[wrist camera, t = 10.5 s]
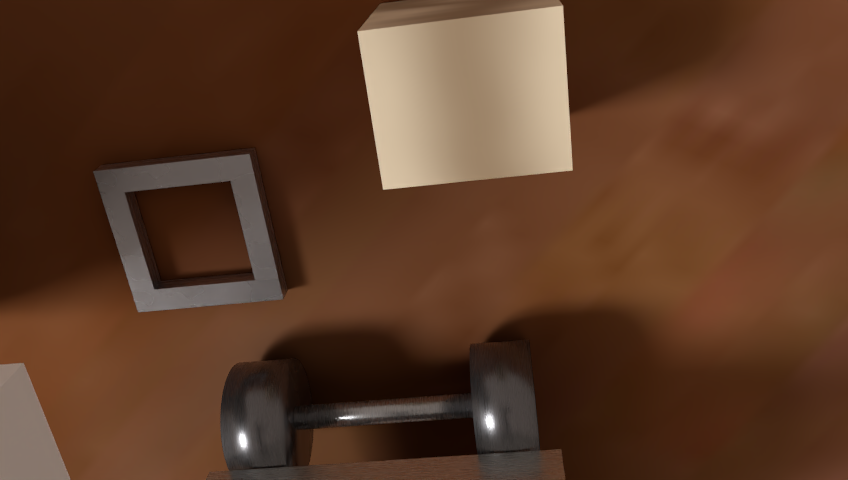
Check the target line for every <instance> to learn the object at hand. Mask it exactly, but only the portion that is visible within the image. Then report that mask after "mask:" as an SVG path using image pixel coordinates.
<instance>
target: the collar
mask: <svg viewBox="0 0 848 480" xmlns="http://www.w3.org/2000/svg"><path fill="white" fill-rule="evenodd" d="M93 173H94V176H95V179H96V182H97V185H98V188H99V191H100V194H101V198H102V201H103V204H104V207H105V210H106V213H107V216H108V219H109V223H110V226H111V229H112V232H113V235H114V238H115V241H116V244H117V248H118V251H119V254H120V257H121V260H122V263H123V266H124V269H125V272H126V276H127V279H128V282H129V285H130V288H131V291H132V294H133V297H134V301H135V304H136V307H137V310H138V312H147V311H158V310H169V309H180V308H191V307H202V306H213V305H225V304H236V303H247V302H258V301H269V300H280V299H284V297H285V295H286V292H287V286H286V282H285V277H284V273H283V268H282V264H281V260H280V255H279V251H278V247H277V242H276V238H275V234H274V229H273V225H272V221H271V216H270V212H269V208H268V203H267V199H266V195H265V190H264V186H263V181H262V177H261V173H260V168H259V164H258V160H257V155H256V151H255V148H246V149H238V150H229V151H220V152H211V153H202V154H193V155H184V156H175V157H166V158H158V159H149V160H140V161H131V162H122V163H113V164H104V165H101V166H100V167H98V168H97V169H96V170H94V171H93ZM224 181H231V185H232V189H233V193H234V197H235V201H236V205H237V209H238V214H239V218H240V222H241V226H242V230H243V234H244V238H245V242H246V246H247V250H248V254H249V258H250V262H251V266H252V270H253V272H250V273H239V274H229V275H218V276H207V277H197V278H186V279H176V280H165V281H161V279H160V276H159V272H158V269H157V266H156V262H155V259H154V256H153V252H152V249H151V246H150V242H149V239H148V236H147V232H146V229H145V226H144V222H143V219H142V216H141V212H140V209H139V206H138V202H137V199H136V196H135V193H134V191H141V190H150V189H160V188H169V187H178V186H187V185H197V184H206V183H215V182H224Z"/></svg>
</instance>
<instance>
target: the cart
mask: <svg viewBox="0 0 848 480" xmlns="http://www.w3.org/2000/svg"><path fill="white" fill-rule="evenodd" d="M470 382H471V393H464V394H450V395H437V396H423V397H410V398H396V399H383V400H369V401H356V402H342V403H328V404H315V405H312V398H311V391H310V386H309V382H308V378H307V375H306V372H305V369H304V367H303V365H302V364H301V362H300V361H299V360H298V359H296V358H292V359H280V360H268V361H255V362H243V363H237V364H236V365H234V366H233V368H232V369H231V370H230V372H229V374H228V377H227V379H226V382H225V386H224V390H223V395H222V403H221V421H220V422H221V439H222V447H223V452H224V456H225V460H226V463H227V466H228V469H229V471H217V472H209V474H208V476H207V478H206V480H566V479H565V472H564V465H563V459H562V452H561V449H555V450H540V445H539V434H538V423H537V413H536V403H535V392H534V382H533V373H532V363H531V353H530V344H529V339H527V340H515V341H502V342H490V343H477V344H471V345H470ZM461 418H473V421H474V430H475V439H476V447H477V453H478V455H463V456H448V457H433V458H417V459H402V460H386V461H371V462H356V463H340V464H325V465H310V466H308V465H309V462H310V457H311V451H312V443H313V429H319V428H333V427H347V426H361V425H376V424H390V423H404V422H418V421H432V420H447V419H461Z"/></svg>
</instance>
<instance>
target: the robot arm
mask: <svg viewBox="0 0 848 480" xmlns="http://www.w3.org/2000/svg"><path fill="white" fill-rule="evenodd" d="M0 480H70V477H69V475H68V472H67V470H66V467H65V465H64V462H63V460H62V457H61V455H60V452H59V450H58V448H57V445H56V443H55V440H54V438H53V435H52V433H51V430H50V428H49V425H48V423H47V420H46V418H45V415H44V413H43V410H42V408H41V405H40V403H39V400H38V398H37V395H36V393H35V390H34V388H33V385H32V383H31V380H30V378H29V375H28V373H27V370H26V368H25V366H24V363H18V364H4V365H0Z"/></svg>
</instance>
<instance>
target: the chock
mask: <svg viewBox="0 0 848 480" xmlns="http://www.w3.org/2000/svg"><path fill="white" fill-rule="evenodd" d="M357 33H358V39H359V45H360V51H361V57H362V63H363V69H364V75H365V82H366V88H367V94H368V100H369V106H370V112H371V118H372V125H373V131H374V137H375V143H376V149H377V155H378V161H379V168H380V174H381V180H382V186H383V190H385V189H395V188H405V187H415V186H424V185H434V184H444V183H454V182H463V181H473V180H483V179H493V178H503V177H512V176H522V175H532V174H542V173H551V172H561V171H571V170H573V168H572V151H571V134H570V117H569V100H568V83H567V66H566V49H565V32H564V15H563V5H562V3H561V2H560V0H404V1H396V2H388V3H381V4H380V5H379V6H378V7H377V8H376V9H375V11H374V12H373V13H372V14H371V15H370V17H369V18H368V19H367V20H366V21H365V23H364V24H363V25H362V26H361V28H360V29H359V30H358V31H357Z"/></svg>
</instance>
